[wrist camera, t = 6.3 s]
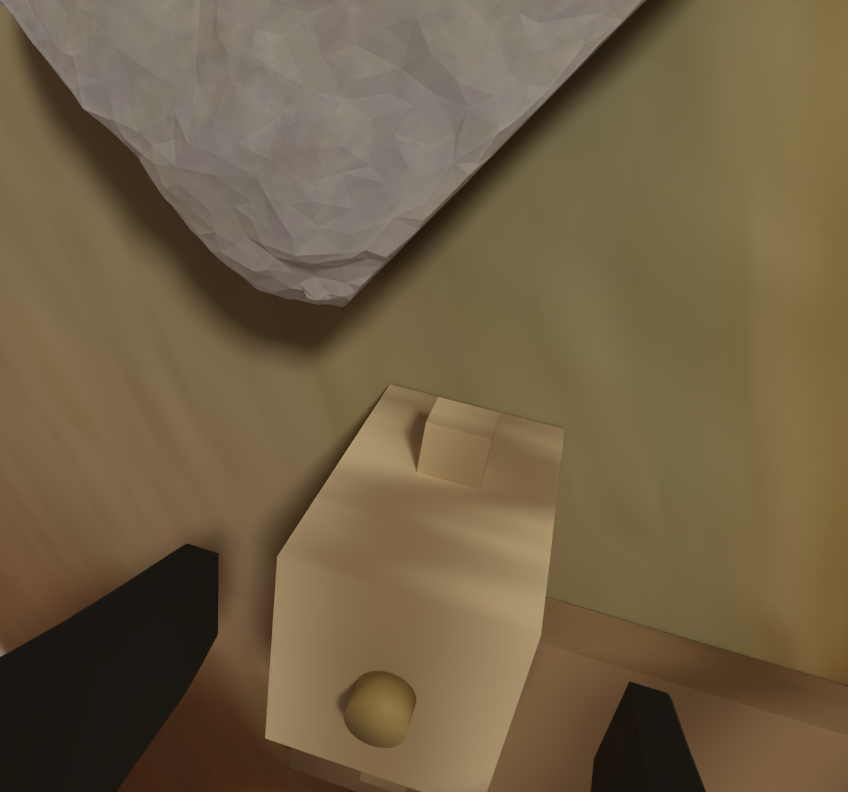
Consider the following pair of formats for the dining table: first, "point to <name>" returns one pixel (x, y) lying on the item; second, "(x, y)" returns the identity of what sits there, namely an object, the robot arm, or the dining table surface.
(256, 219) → the stone block
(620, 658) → the board
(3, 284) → the dining table surface
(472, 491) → the block
